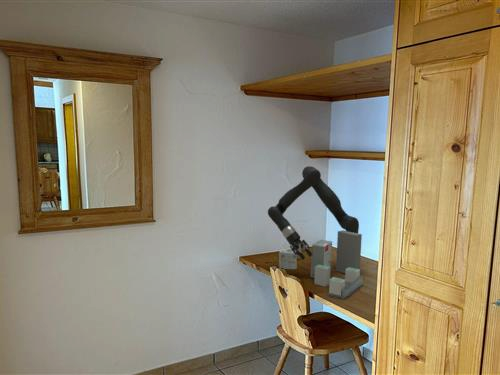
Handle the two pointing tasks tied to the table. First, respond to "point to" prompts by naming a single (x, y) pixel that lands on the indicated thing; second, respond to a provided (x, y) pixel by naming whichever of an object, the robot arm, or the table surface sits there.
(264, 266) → the table surface
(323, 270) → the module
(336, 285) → the mounted module
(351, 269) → the mounted module
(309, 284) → the table surface
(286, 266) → the light bulb box
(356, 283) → the rail
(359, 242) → the tall upright rectangular panel
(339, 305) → the table surface
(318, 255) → the hard drive box
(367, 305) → the table surface
